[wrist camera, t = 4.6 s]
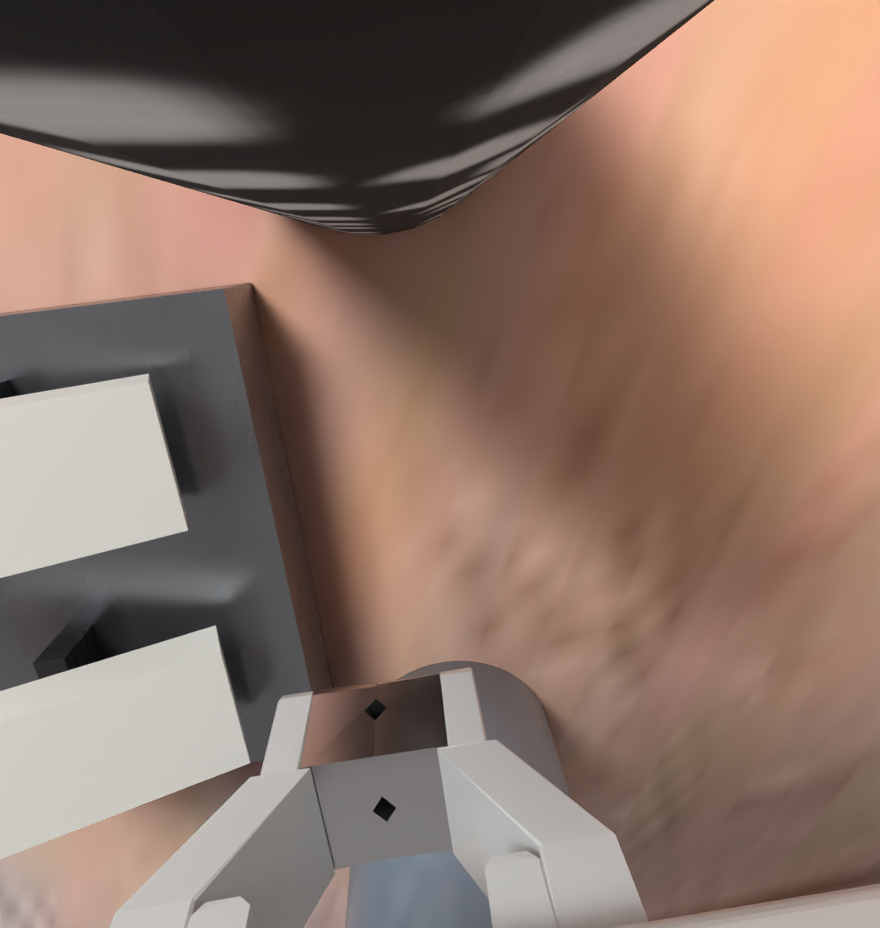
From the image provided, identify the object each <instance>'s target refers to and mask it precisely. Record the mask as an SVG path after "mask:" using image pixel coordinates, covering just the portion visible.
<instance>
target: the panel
mask: <svg viewBox="0 0 880 928" xmlns="http://www.w3.org/2000/svg"><path fill="white" fill-rule="evenodd" d="M144 374H149V376H150V380H151V384H152V388H153V391H154V395H155V399H156V403H157V406H158V410H159V414H160V418H161V421H162V425H163V429H164V433H165V437H166V440H167V444H168V448H169V452H170V455H171V459H172V463H173V467H174V470H175V474H176V478H177V482H178V485H179V489H180V493H181V497H182V500H183V504H184V508H185V512H186V519H187V526H188V531H184V532H180V533H176V534H172V535H169V536H165V537H161V538H157V539H153V540H149V541H145V542H141V543H137V544H133V545H129V546H125V547H121V548H117V549H113V550H109V551H105V552H101V553H97V554H93V555H90V556H86V557H82V558H78V559H74V560H70V561H66V562H62V563H58V564H54V565H50V566H46V567H42V568H38V569H34V570H30V571H26V572H22V573H18V574H14V575H11V576H7V577H3V578H0V691H3V690H6V689H9V688H13V687H16V686H19V685H22V684H26V683H29V682H32V681H35V680H39V679H42V678H45V677H49V676H52V675H55V674H58V673H62V672H65V671H68V670H71V669H75V668H78V667H81V666H85V665H88V664H91V663H94V662H98V661H101V660H104V659H107V658H111V657H114V656H117V655H120V654H124V653H127V652H130V651H134V650H137V649H140V648H143V647H147V646H150V645H153V644H156V643H160V642H163V641H166V640H169V639H173V638H176V637H179V636H183V635H186V634H189V633H192V632H196V631H199V630H202V629H205V628H209V627H212V626H215V625H216V628H217V632H218V636H219V640H220V643H221V647H222V651H223V655H224V658H225V662H226V666H227V670H228V673H229V677H230V681H231V685H232V688H233V692H234V696H235V700H236V703H237V707H238V711H239V715H240V718H241V722H242V726H243V730H244V734H245V739H246V744H247V749H248V754H249V759H250V763H253V762H260V761H264V758H265V753H266V749H267V745H268V741H269V737H270V733H271V729H272V725H273V721H274V717H275V713H276V709H277V704H278V701H279V700H280V699H281V697H282V696H283V695H289V694H296V693H303V692H310V691H313V692H315V691H316V690H324V689H332V688H334V686H333V682H332V677H331V672H330V667H329V662H328V657H327V652H326V647H325V642H324V638H323V633H322V628H321V623H320V618H319V613H318V608H317V603H316V598H315V593H314V589H313V584H312V579H311V574H310V569H309V564H308V559H307V554H306V549H305V545H304V540H303V535H302V530H301V525H300V520H299V515H298V510H297V505H296V500H295V496H294V491H293V486H292V481H291V476H290V471H289V466H288V461H287V456H286V452H285V447H284V442H283V437H282V432H281V427H280V422H279V417H278V412H277V407H276V403H275V398H274V393H273V388H272V383H271V378H270V373H269V368H268V363H267V359H266V354H265V349H264V344H263V339H262V334H261V329H260V324H259V319H258V314H257V310H256V305H255V300H254V295H253V290H252V285H251V283H243V284H235V285H227V286H219V287H211V288H203V289H195V290H187V291H178V292H170V293H162V294H154V295H146V296H138V297H130V298H122V299H114V300H106V301H97V302H89V303H81V304H73V305H65V306H57V307H49V308H41V309H33V310H24V311H16V312H8V313H0V399H2V398H8V397H14V396H20V395H25V394H31V393H37V392H43V391H49V390H55V389H61V388H67V387H73V386H79V385H85V384H90V383H96V382H102V381H108V380H114V379H120V378H126V377H132V376H138V375H144Z"/></svg>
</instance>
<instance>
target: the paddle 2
mask: <svg viewBox="0 0 880 928" xmlns="http://www.w3.org/2000/svg"><path fill="white" fill-rule="evenodd" d="M249 763H250V759H249V754H248V749H247V744H246V739H245V734H244V730H243V726H242V722H241V718H240V715H239V711H238V707H237V703H236V700H235V696H234V692H233V688H232V685H231V681H230V677H229V673H228V670H227V666H226V662H225V658H224V655H223V651H222V647H221V643H220V640H219V636H218V632H217V628H216V625H215V626H212V627H209V628H205V629H202V630H199V631H196V632H192V633H189V634H186V635H183V636H179V637H176V638H173V639H169V640H166V641H163V642H160V643H156V644H153V645H150V646H147V647H143V648H140V649H137V650H134V651H130V652H127V653H124V654H120V655H117V656H114V657H111V658H107V659H104V660H101V661H98V662H94V663H91V664H88V665H85V666H81V667H78V668H75V669H71V670H68V671H65V672H62V673H58V674H55V675H52V676H49V677H45V678H42V679H39V680H35V681H32V682H29V683H26V684H22V685H19V686H16V687H13V688H9V689H6V690H3V691H0V859H2V858H5V857H7V856H10V855H13V854H15V853H18V852H20V851H23V850H26V849H28V848H31V847H33V846H36V845H39V844H41V843H44V842H46V841H49V840H52V839H54V838H57V837H59V836H62V835H65V834H67V833H70V832H72V831H75V830H78V829H80V828H83V827H85V826H88V825H91V824H93V823H96V822H98V821H101V820H104V819H106V818H109V817H111V816H114V815H117V814H119V813H122V812H124V811H127V810H130V809H132V808H135V807H137V806H140V805H143V804H145V803H148V802H150V801H153V800H156V799H158V798H161V797H163V796H166V795H169V794H171V793H174V792H176V791H179V790H182V789H184V788H187V787H189V786H192V785H195V784H197V783H200V782H202V781H205V780H208V779H210V778H213V777H215V776H218V775H221V774H223V773H226V772H228V771H231V770H234V769H236V768H239V767H241V766H244V765H247V764H249Z"/></svg>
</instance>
